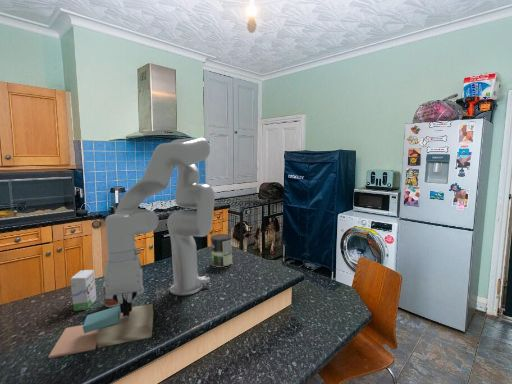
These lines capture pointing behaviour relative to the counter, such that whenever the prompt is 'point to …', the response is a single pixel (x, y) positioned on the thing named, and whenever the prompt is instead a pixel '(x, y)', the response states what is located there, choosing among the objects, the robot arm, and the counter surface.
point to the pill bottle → (109, 300)
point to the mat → (74, 342)
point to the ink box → (83, 289)
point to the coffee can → (221, 250)
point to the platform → (128, 327)
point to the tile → (101, 319)
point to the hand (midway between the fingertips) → (126, 314)
